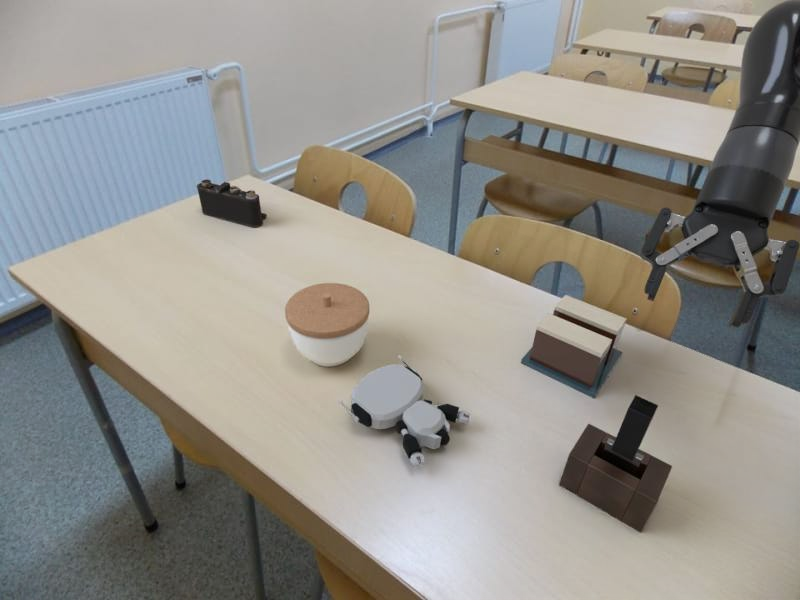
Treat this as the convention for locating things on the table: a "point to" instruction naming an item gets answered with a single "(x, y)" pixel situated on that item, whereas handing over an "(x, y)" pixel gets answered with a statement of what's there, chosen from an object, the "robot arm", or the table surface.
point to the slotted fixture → (577, 345)
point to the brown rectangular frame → (614, 480)
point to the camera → (230, 203)
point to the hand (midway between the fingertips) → (691, 312)
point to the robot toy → (403, 409)
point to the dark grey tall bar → (630, 436)
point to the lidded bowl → (328, 322)
